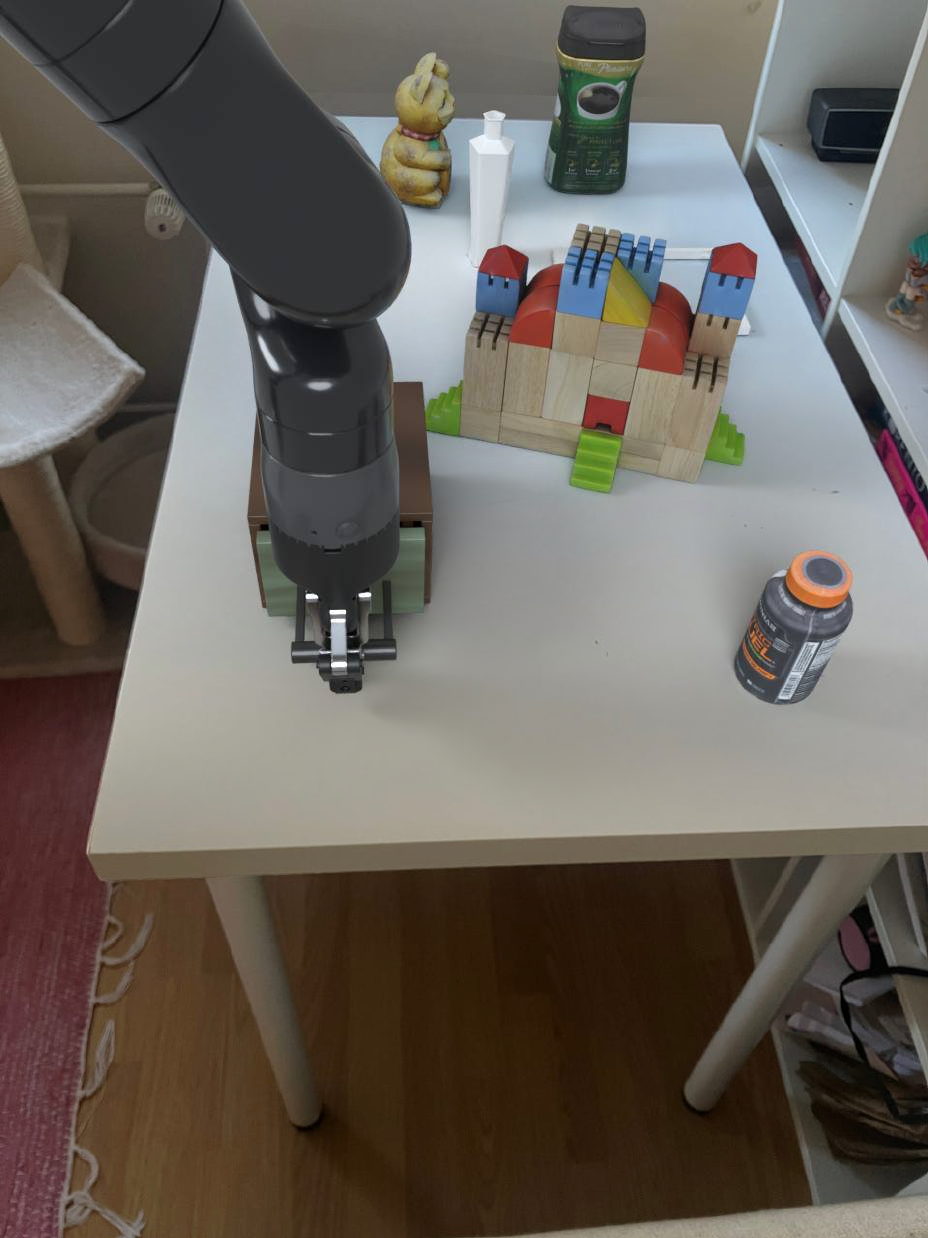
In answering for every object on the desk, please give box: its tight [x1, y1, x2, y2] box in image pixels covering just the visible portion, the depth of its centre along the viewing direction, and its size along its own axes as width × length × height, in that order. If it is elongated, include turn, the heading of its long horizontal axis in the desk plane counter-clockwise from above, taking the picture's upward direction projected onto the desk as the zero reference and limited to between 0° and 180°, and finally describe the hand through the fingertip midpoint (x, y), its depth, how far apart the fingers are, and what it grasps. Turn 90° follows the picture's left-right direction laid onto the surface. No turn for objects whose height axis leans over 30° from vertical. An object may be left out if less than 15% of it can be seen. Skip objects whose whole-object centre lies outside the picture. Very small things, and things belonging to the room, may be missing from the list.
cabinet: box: [246, 381, 434, 609], centre depth 77 cm, size 15×13×10 cm
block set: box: [425, 222, 758, 494], centre depth 82 cm, size 28×14×19 cm, turn 76°
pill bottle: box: [733, 549, 854, 706], centre depth 69 cm, size 6×6×11 cm
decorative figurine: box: [378, 51, 456, 209], centre depth 109 cm, size 10×8×15 cm
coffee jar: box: [543, 4, 647, 195], centre depth 112 cm, size 10×8×19 cm
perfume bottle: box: [466, 109, 516, 268], centre depth 102 cm, size 5×4×15 cm
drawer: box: [256, 521, 425, 665], centre depth 73 cm, size 20×11×8 cm, turn 4°
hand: (346, 675), depth 70 cm, fingers closed
